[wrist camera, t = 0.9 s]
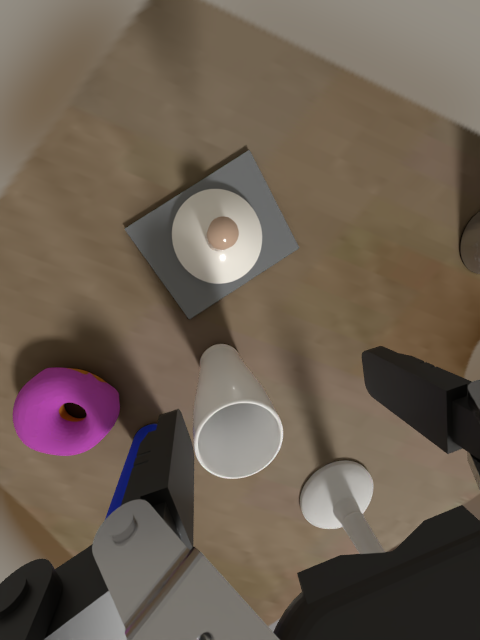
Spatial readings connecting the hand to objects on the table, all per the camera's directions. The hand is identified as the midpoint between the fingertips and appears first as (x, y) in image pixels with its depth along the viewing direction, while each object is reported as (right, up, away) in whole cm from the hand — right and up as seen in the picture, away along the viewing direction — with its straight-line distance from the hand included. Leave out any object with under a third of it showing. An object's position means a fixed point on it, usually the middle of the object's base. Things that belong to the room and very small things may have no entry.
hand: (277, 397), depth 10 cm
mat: (-4, +13, +18) cm, 23 cm away
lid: (-4, +12, +18) cm, 22 cm away
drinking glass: (-4, -2, +22) cm, 23 cm away
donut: (-22, -7, +20) cm, 30 cm away
